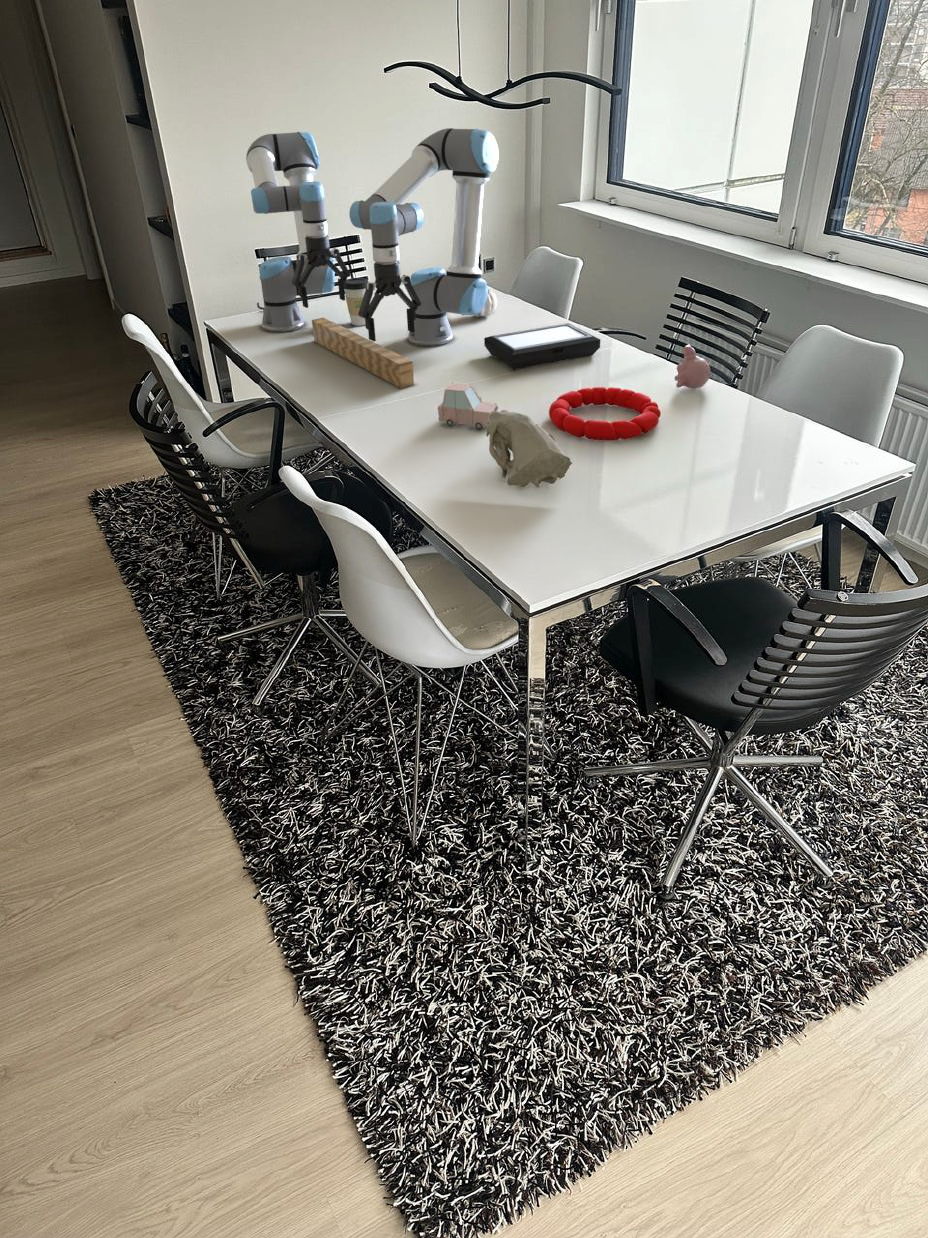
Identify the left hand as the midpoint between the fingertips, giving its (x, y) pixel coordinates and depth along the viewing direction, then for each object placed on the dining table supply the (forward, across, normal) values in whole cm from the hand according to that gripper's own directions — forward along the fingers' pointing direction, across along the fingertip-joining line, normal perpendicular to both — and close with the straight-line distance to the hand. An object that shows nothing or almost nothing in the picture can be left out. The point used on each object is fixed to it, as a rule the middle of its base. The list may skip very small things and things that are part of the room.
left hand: (324, 303), depth 298 cm
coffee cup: (+15, +21, +17) cm, 31 cm away
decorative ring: (+14, +31, -108) cm, 113 cm away
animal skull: (+13, -5, -119) cm, 120 cm away
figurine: (+14, +68, -104) cm, 125 cm away
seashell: (+15, +61, -4) cm, 63 cm away
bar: (+14, +1, -21) cm, 26 cm away
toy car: (+14, +1, -86) cm, 88 cm away
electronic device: (+14, +51, -53) cm, 75 cm away
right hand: (0, +2, -44) cm, 44 cm away
